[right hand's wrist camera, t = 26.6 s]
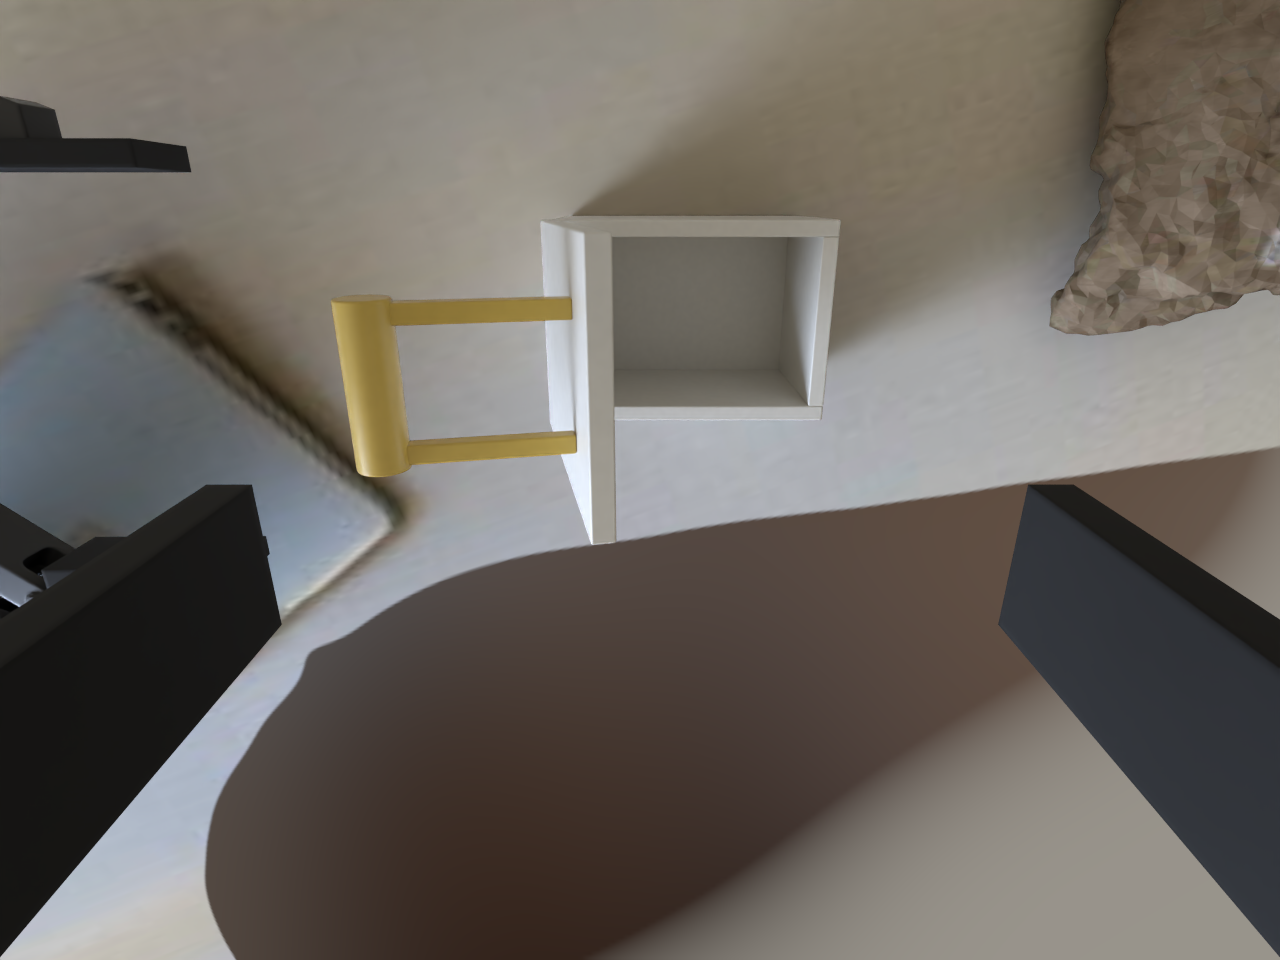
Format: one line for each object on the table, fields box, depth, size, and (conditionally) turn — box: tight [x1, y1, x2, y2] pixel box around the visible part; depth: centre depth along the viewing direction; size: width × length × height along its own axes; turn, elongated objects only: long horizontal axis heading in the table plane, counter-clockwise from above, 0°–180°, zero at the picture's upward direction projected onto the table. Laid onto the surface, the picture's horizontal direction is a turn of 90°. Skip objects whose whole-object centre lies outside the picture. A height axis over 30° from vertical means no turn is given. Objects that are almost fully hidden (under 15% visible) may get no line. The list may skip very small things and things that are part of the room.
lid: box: [331, 220, 616, 545], centre depth 27 cm, size 14×10×8 cm
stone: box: [1050, 0, 1280, 335], centre depth 38 cm, size 21×15×6 cm
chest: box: [553, 216, 841, 420], centre depth 39 cm, size 14×10×9 cm
